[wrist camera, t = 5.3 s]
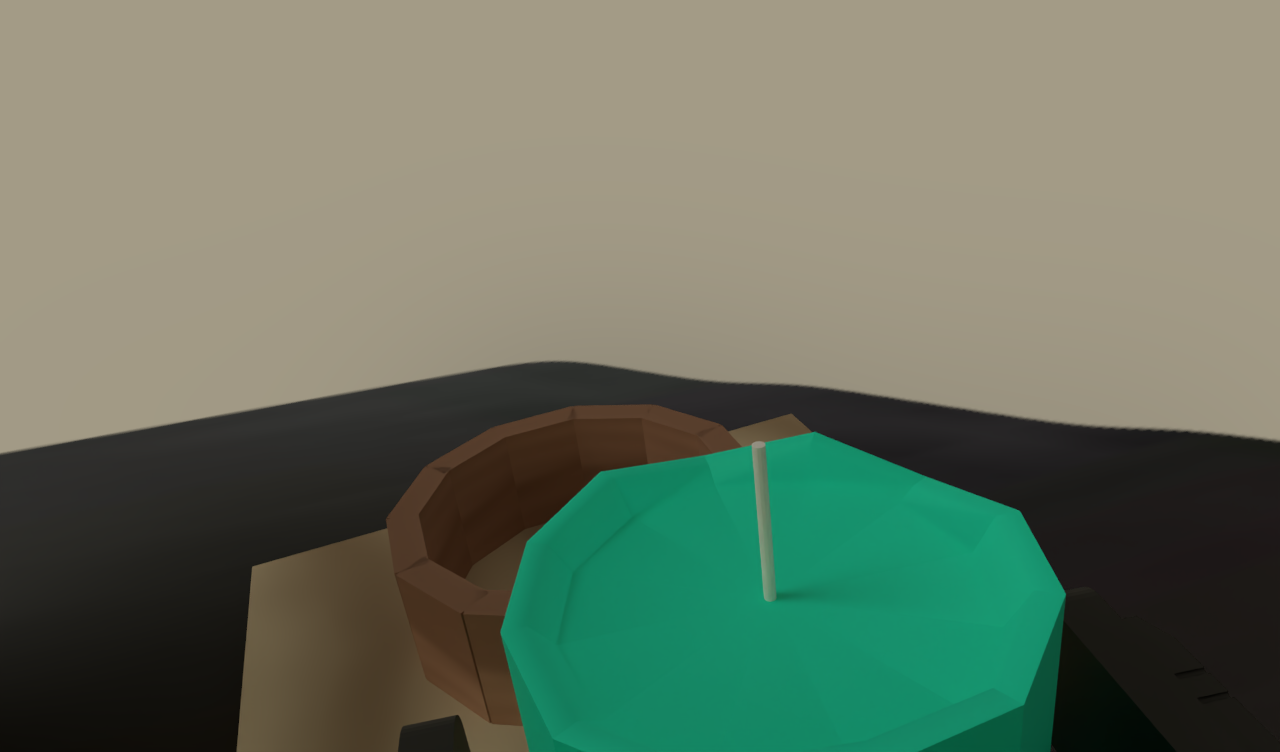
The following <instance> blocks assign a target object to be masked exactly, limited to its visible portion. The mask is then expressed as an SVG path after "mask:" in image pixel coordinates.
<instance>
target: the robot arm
mask: <svg viewBox="0 0 1280 752" xmlns="http://www.w3.org/2000/svg"><path fill="white" fill-rule="evenodd" d="M1065 593H1066V599H1065V609H1064V619H1063V629H1062V639H1061V649H1060V659H1059V669H1058V679H1057V689H1056V699H1055V709H1054V719H1053V729H1052V740H1051V744H1052V745H1053V746H1054V748H1055V749H1056V751H1057V752H1280V743H1279V742H1278V741H1277V740H1276V739H1275V738H1274V737H1273V736H1272V735H1271V734H1270V733H1269V732H1268V731H1267V730H1266V729H1265V728H1264V727H1263V726H1262V725H1261V724H1260V723H1259V722H1258V721H1257V720H1256V719H1255V718H1254V717H1253V716H1252V715H1251V714H1250V713H1249V712H1248V711H1247V710H1246V709H1245V708H1244V707H1243V706H1242V705H1241V704H1240V703H1239V702H1238V701H1237V700H1236V699H1235V698H1234V697H1233V698H1231V697H1230V696H1229V694H1228V690H1227V689H1226V688H1225V687H1224V686H1223V685H1222V684H1221V683H1220V682H1219V681H1218V680H1217V679H1216V678H1215V677H1214V676H1213V675H1212V674H1211V673H1206V672H1205V670H1204V666H1203V665H1202V664H1201V663H1200V662H1199V661H1198V660H1197V659H1196V658H1195V657H1194V656H1193V655H1192V654H1191V653H1190V652H1189V651H1188V650H1187V649H1186V648H1185V647H1184V646H1183V645H1182V644H1181V643H1180V642H1179V641H1178V640H1177V639H1176V638H1174V637H1172V636H1170V635H1169V634H1167V633H1165V632H1163V631H1162V630H1160V629H1158V628H1156V627H1155V626H1153V625H1151V624H1149V623H1148V622H1146V621H1144V620H1142V619H1140V618H1139V617H1137V616H1134V617H1129V618H1124V619H1121V617H1120V616H1119V615H1118V614H1117V613H1116V612H1115V611H1114V610H1113V609H1112V608H1111V607H1110V606H1109V605H1108V604H1107V603H1106V602H1105V601H1104V600H1103V599H1102V597H1101V596H1100V595H1099V594H1098V593H1096V592H1095V591H1094V590H1093V589H1091V588H1088V587H1081V588H1076V589H1071V590H1066V591H1065ZM398 752H471V751H470V748H469V744H468V741H467V737H466V734H465V730H464V727H463V724H462V721H461V718H460V717H459V715H454V716H449V717H444V718H439V719H434V720H430V721H425V722H420V723H415V724H410V725H405V726H403V727H402V729H401V732H400V738H399V746H398Z"/></svg>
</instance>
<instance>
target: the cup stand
mask: <svg viewBox="0 0 1280 752" xmlns="http://www.w3.org/2000/svg"><path fill="white" fill-rule="evenodd" d="M807 433H812V432H811V431H810V430H809V429H808V428H807V427H806V426H804V425H803V424H802V423H801V422H800V421H799V420H798V419H797V418H796V417H794V416H793V415H792V414H788V415H785V416H781V417H778V418H774V419H771V420H767V421H764V422H760V423H757V424H753V425H750V426H746V427H743V428H739V429H736V430H732V431H729V432H728V431H727V430H726V429H725V428H724V427H723V426H722V425H720V424H718V423H714V422H711V421H708V420H704V419H701V418H697V417H694V416H691V415H687V414H684V413H681V412H677V411H674V410H670V409H667V408H664V407H660V406H657V405H654V406H653V405H598V406H574V407H572V406H571V407H567V408H563V409H560V410H556V411H552V412H548V413H545V414H541V415H537V416H533V417H530V418H526V419H522V420H518V421H514V422H511V423H507V424H503V425H499V426H496V427H494V428H491V429H489V430H487V431H485V432H484V433H482V434H480V435H478V436H477V437H475V438H473V439H472V440H470V441H468V442H466V443H465V444H463V445H461V446H459V447H458V448H456V449H454V450H452V451H451V452H449V453H447V454H446V455H444V456H442V457H440V458H439V459H437V460H435V461H433V462H432V463H430V464H428V465H427V466H426V467H424V468H423V470H422V471H421V472H420V474H419V475H418V476H417V478H416V479H415V480H414V482H413V483H412V485H411V486H410V487H409V489H408V490H407V491H406V493H405V494H404V495H403V497H402V498H401V499H400V501H399V502H398V503H397V505H396V506H395V507H394V509H393V510H392V512H391V513H390V514H389V516H388V517H387V520H386V523H387V529H383V530H380V531H376V532H373V533H369V534H366V535H362V536H359V537H355V538H352V539H348V540H345V541H341V542H338V543H334V544H331V545H327V546H324V547H320V548H317V549H313V550H309V551H306V552H302V553H299V554H295V555H292V556H288V557H285V558H281V559H278V560H274V561H271V562H267V563H264V564H260V565H257V566H253V567H252V576H251V588H250V600H249V611H248V623H247V635H246V647H245V659H244V671H243V682H242V694H241V706H240V718H239V730H238V741H237V752H398V746H399V738H400V732H401V729H402V727H403V726H405V725H410V724H415V723H420V722H425V721H430V720H434V719H439V718H444V717H449V716H454V715H459V717H460V718H461V721H462V724H463V727H464V730H465V734H466V737H467V741H468V744H469V748H470V751H471V752H529V748H528V744H527V740H526V736H525V732H524V728H523V724H522V720H521V715H520V711H519V707H518V703H517V699H516V695H515V691H514V687H513V683H512V678H511V674H510V670H509V666H508V662H507V658H506V654H505V650H504V645H503V641H502V637H501V633H500V632H501V628H502V625H503V621H504V618H505V614H506V611H507V608H508V604H509V601H510V597H511V594H512V590H513V587H514V584H515V580H516V577H517V573H518V570H519V566H520V563H521V560H522V556H523V553H524V549H525V546H526V543H527V541H528V540H529V539H530V538H531V537H532V536H533V535H534V534H536V533H537V532H538V531H539V530H540V529H541V528H542V527H543V526H544V525H545V524H546V523H547V522H548V521H549V520H550V519H551V518H552V517H553V516H554V515H556V514H557V513H558V512H559V511H560V510H561V509H562V508H563V507H564V506H565V505H566V504H567V503H568V502H569V501H570V500H571V499H572V498H573V497H574V496H576V495H577V494H578V493H579V492H580V491H581V490H582V489H583V488H584V487H585V486H586V485H587V484H588V483H589V482H590V481H591V480H592V479H593V478H594V477H596V476H597V475H598V474H599V473H600V472H602V471H608V470H614V469H621V468H627V467H633V466H640V465H646V464H652V463H659V462H665V461H671V460H678V459H684V458H690V457H697V456H703V455H708V454H713V453H717V452H722V451H727V450H732V449H736V448H741V447H746V446H750V445H752V443H754V442H756V441H761V442H764V443H765V442H769V441H774V440H779V439H783V438H788V437H793V436H798V435H802V434H807Z"/></svg>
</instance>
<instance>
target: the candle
mask: <svg viewBox="0 0 1280 752" xmlns="http://www.w3.org/2000/svg"><path fill="white" fill-rule="evenodd" d="M1065 599H1066V593H1065V591H1064V590H1063V588H1062V586H1061V584H1060V582H1059V581H1058V579H1057V577H1056V575H1055V573H1054V572H1053V570H1052V568H1051V566H1050V564H1049V563H1048V561H1047V559H1046V557H1045V555H1044V554H1043V552H1042V550H1041V548H1040V546H1039V545H1038V543H1037V541H1036V539H1035V537H1034V536H1033V534H1032V532H1031V530H1030V528H1029V527H1028V525H1027V523H1026V521H1025V519H1024V518H1023V516H1022V514H1021V512H1020V511H1019V510H1016V509H1013V508H1011V507H1008V506H1005V505H1003V504H1000V503H997V502H994V501H992V500H989V499H986V498H983V497H981V496H978V495H975V494H972V493H970V492H967V491H964V490H961V489H959V488H956V487H953V486H950V485H948V484H945V483H942V482H939V481H937V480H934V479H931V478H928V477H926V476H923V475H921V474H918V473H916V472H913V471H911V470H908V469H906V468H903V467H901V466H898V465H896V464H893V463H891V462H888V461H886V460H883V459H881V458H878V457H876V456H873V455H871V454H868V453H866V452H864V451H861V450H859V449H856V448H854V447H851V446H849V445H846V444H844V443H841V442H839V441H836V440H834V439H831V438H829V437H826V436H824V435H821V434H819V433H816V432H812V433H807V434H802V435H798V436H793V437H788V438H783V439H779V440H774V441H769V442H765V443H764V442H761V441H756V442H754V443H752V445H750V446H746V447H741V448H736V449H732V450H727V451H722V452H717V453H713V454H708V455H703V456H697V457H690V458H684V459H678V460H671V461H665V462H659V463H652V464H646V465H640V466H633V467H627V468H621V469H614V470H608V471H602V472H600V473H599V474H598V475H597V476H596V477H594V478H593V479H592V480H591V481H590V482H589V483H588V484H587V485H586V486H585V487H584V488H583V489H582V490H581V491H580V492H579V493H578V494H577V495H576V496H574V497H573V498H572V499H571V500H570V501H569V502H568V503H567V504H566V505H565V506H564V507H563V508H562V509H561V510H560V511H559V512H558V513H557V514H556V515H554V516H553V517H552V518H551V519H550V520H549V521H548V522H547V523H546V524H545V525H544V526H543V527H542V528H541V529H540V530H539V531H538V532H537V533H536V534H534V535H533V536H532V537H531V538H530V539H529V540H528V541H527V543H526V546H525V549H524V553H523V556H522V560H521V563H520V566H519V570H518V573H517V577H516V580H515V584H514V587H513V590H512V594H511V597H510V601H509V604H508V608H507V611H506V614H505V618H504V621H503V625H502V628H501V632H500V633H501V637H502V641H503V645H504V650H505V654H506V658H507V662H508V666H509V670H510V674H511V678H512V683H513V687H514V691H515V695H516V699H517V703H518V707H519V711H520V715H521V720H522V724H523V728H524V732H525V736H526V740H527V744H528V748H529V752H1050V750H1051V740H1052V729H1053V719H1054V709H1055V699H1056V689H1057V679H1058V669H1059V659H1060V649H1061V639H1062V629H1063V619H1064V609H1065Z"/></svg>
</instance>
